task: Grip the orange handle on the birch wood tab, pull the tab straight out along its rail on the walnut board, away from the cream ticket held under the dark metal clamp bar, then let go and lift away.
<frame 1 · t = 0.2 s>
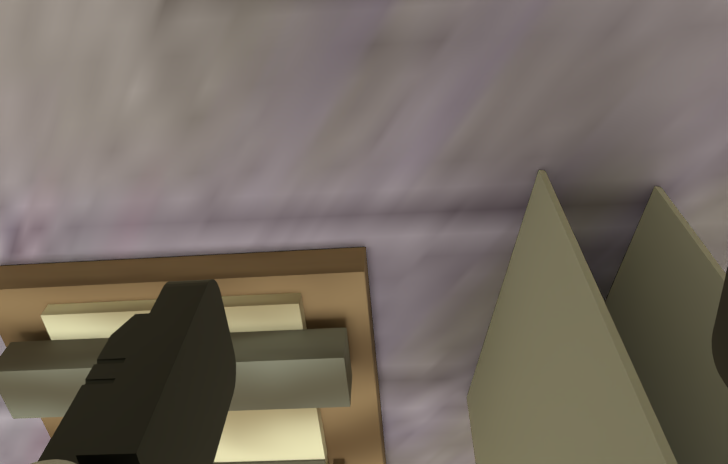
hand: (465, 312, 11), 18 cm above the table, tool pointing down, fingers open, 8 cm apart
folded green panel: (552, 302, 33), on the table
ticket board: (223, 415, 37), on the table
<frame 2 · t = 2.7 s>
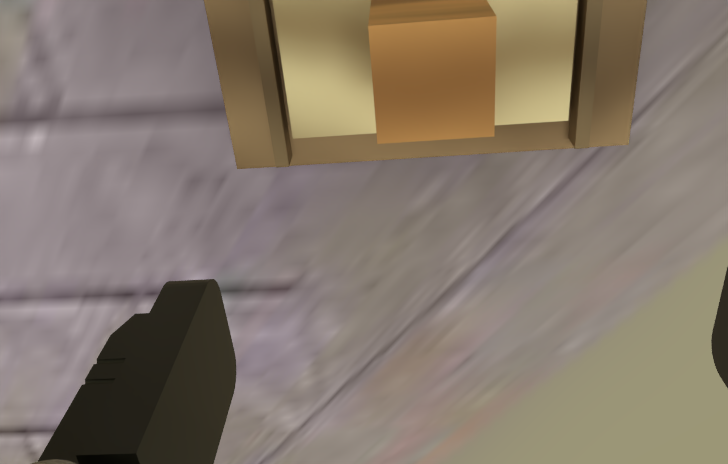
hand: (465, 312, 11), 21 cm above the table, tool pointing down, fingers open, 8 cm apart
stub tab: (428, 54, 24), point 5 cm above the table, slide at 0.0 cm
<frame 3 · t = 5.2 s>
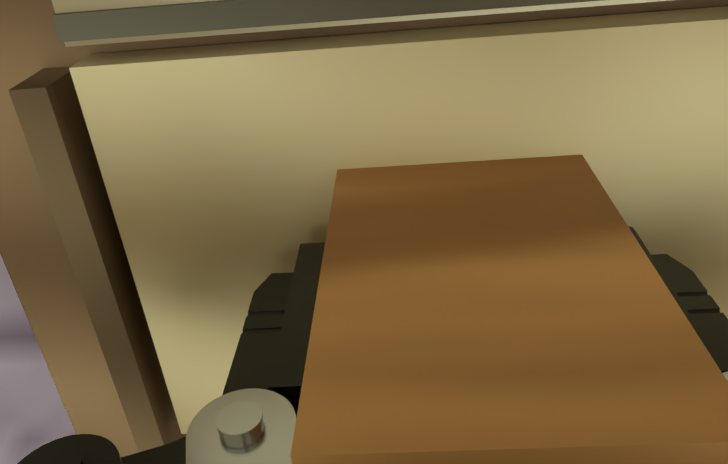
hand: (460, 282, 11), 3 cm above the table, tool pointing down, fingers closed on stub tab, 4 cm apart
stub tab: (475, 361, 10), point 5 cm above the table, slide at 0.0 cm, touching gripper
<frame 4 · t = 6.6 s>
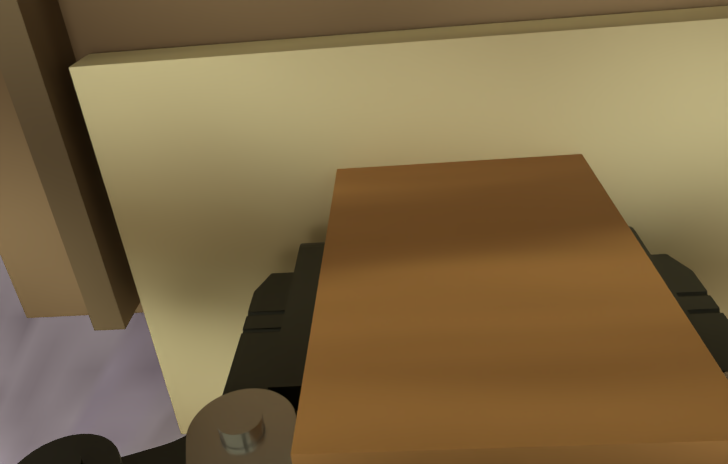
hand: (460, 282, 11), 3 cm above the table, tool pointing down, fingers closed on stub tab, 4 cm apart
stub tab: (475, 360, 10), point 6 cm above the table, slide at 4.3 cm, touching gripper
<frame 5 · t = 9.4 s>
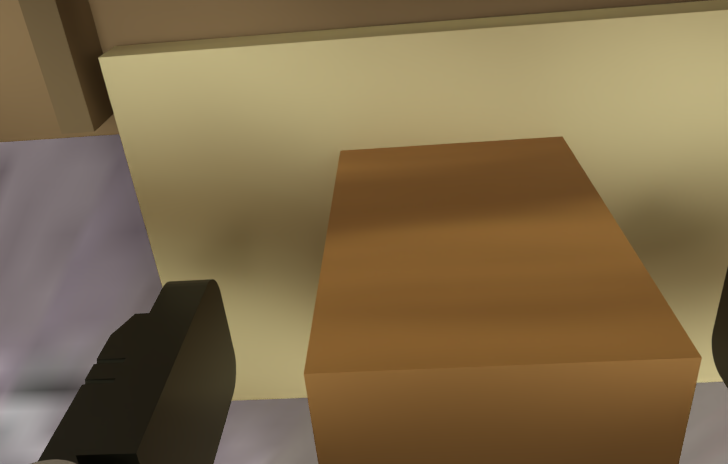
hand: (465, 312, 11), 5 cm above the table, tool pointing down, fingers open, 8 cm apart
stub tab: (465, 319, 11), point 5 cm above the table, slide at 8.0 cm
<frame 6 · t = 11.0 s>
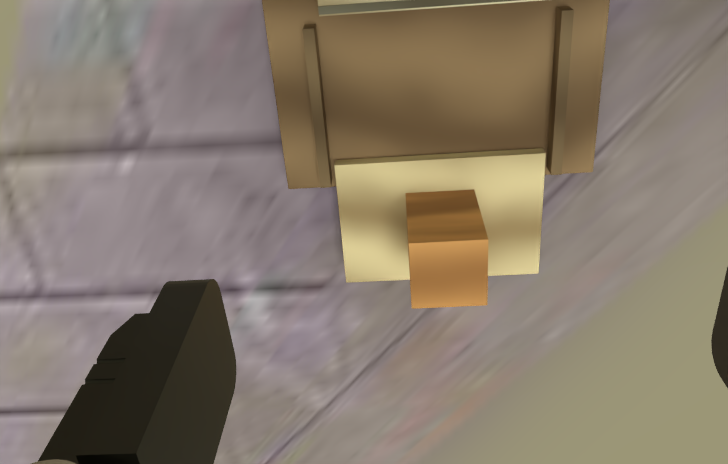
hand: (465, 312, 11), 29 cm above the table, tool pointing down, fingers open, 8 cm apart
stub tab: (443, 242, 37), point 5 cm above the table, slide at 8.0 cm
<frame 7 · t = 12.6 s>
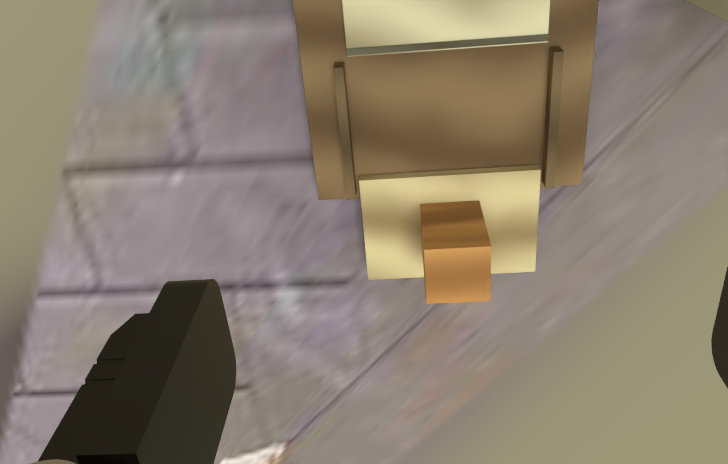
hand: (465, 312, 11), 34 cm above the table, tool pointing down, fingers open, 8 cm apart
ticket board: (442, 22, 41), on the table
stub tab: (453, 247, 43), point 5 cm above the table, slide at 8.0 cm
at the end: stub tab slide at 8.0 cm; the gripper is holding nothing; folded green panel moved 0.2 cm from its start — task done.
